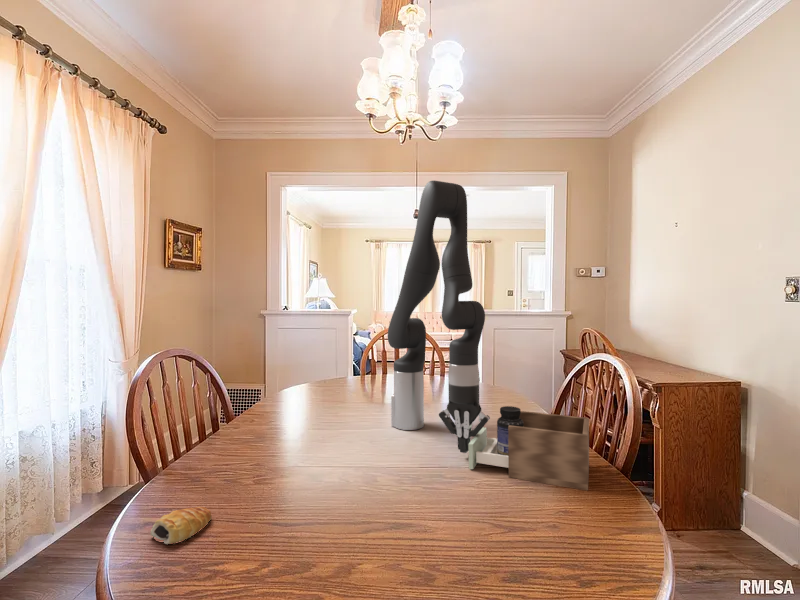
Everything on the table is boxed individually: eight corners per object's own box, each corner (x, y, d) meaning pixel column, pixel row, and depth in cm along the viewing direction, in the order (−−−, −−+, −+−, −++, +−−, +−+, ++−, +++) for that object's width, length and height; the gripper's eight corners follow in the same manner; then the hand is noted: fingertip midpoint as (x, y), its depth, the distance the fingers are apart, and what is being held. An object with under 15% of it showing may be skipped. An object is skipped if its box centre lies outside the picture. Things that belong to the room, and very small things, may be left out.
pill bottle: (525, 461, 96) (524, 412, 96) (497, 459, 98) (497, 411, 98) (522, 451, 102) (522, 405, 102) (496, 449, 104) (496, 404, 104)
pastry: (195, 514, 79) (195, 493, 79) (221, 523, 76) (221, 501, 76) (146, 540, 70) (146, 517, 70) (173, 551, 67) (173, 527, 67)
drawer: (468, 468, 97) (468, 443, 97) (483, 449, 110) (482, 427, 110) (541, 480, 91) (540, 454, 91) (547, 458, 103) (547, 435, 103)
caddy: (508, 477, 93) (508, 426, 93) (519, 455, 106) (518, 410, 106) (587, 490, 87) (587, 436, 86) (589, 465, 99) (588, 418, 99)
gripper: (433, 382, 104) (433, 452, 104) (486, 387, 98) (487, 461, 98) (443, 377, 111) (443, 443, 111) (493, 381, 105) (494, 450, 105)
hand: (464, 451), depth 105 cm, fingers closed
